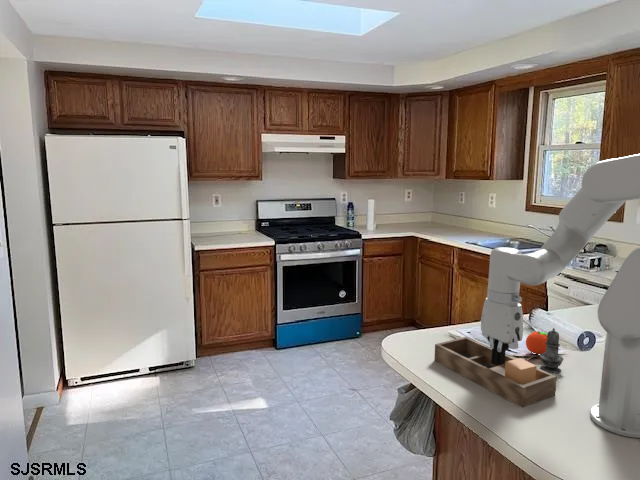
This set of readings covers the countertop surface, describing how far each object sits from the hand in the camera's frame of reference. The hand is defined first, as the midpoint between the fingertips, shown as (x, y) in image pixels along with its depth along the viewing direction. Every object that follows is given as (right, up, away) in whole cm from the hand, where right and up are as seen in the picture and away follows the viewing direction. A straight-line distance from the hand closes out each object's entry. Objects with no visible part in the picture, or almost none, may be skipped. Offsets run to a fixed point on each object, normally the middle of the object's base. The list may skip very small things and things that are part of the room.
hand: (497, 363), depth 124 cm
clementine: (+19, -2, +17) cm, 25 cm away
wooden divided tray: (-1, -4, +3) cm, 5 cm away
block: (+3, -3, -6) cm, 7 cm away
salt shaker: (+17, -4, +7) cm, 19 cm away
